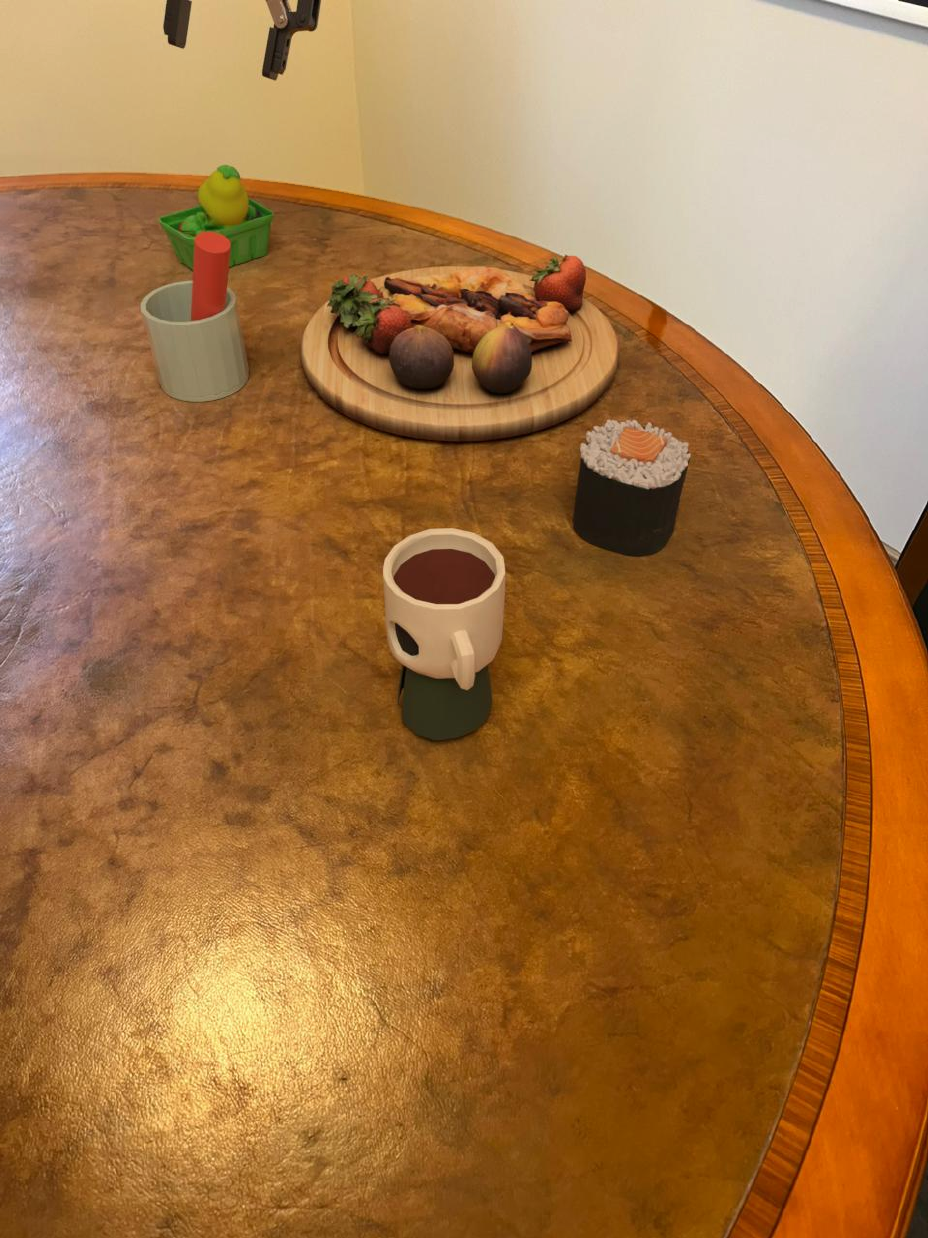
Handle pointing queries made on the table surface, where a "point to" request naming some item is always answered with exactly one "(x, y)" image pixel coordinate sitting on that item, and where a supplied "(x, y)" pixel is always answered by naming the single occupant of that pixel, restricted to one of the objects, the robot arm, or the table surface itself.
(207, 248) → the red cylindrical rod
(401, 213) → the table surface
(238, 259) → the fruit basket
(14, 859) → the table surface
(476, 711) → the character mug
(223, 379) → the tumbler
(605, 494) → the sushi
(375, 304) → the wooden plate
